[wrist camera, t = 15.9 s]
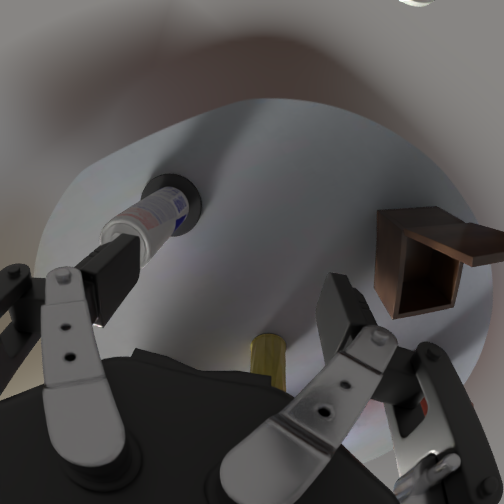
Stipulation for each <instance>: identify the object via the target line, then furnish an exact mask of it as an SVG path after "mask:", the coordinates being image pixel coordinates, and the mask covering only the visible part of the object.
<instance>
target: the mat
mask: <svg viewBox="0 0 504 504" xmlns="http://www.w3.org/2000/svg"><path fill="white" fill-rule="evenodd" d="M164 187H174V188H176V189H178V190H180V191H181V192H182V193H183V194H184V195H185V196H186V198H187V200H188V204H189V212H188V215H187V217H186V219H185V220H184V221H183V222H182V224H181V225H180V226H179V227H178V228H177V229H176V230H175V232H174V233H173V234H172V235H171V236H172V237H173V236H180V235H183V234H185V233H187V232H189V231H190V230H191V229H192V228H193V227H194V226H195V225H196V223H197V222H198V220H199V218H200V215H201V209H202V204H201V198H200V195H199V193H198V191H197V189H196V188H195V186H194V185H193V184H192V183H191V182H190V181H189V180H188V179H186V178H184V177H182V176H180V175H177V174H163V175H160V176H158V177H156V178H154V179H152V180H151V181H150V182H149V183H148V184H147V185H146V187H145V188H144V190H143V193H142V196H141V200H142V199H144V198H146V197H147V196H149V195H151V194H152V193H154V192H156V191H158V190H159V189H161V188H164Z"/></svg>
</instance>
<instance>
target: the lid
mask: <svg viewBox="0 0 504 504" xmlns="http://www.w3.org/2000/svg"><path fill="white" fill-rule="evenodd" d="M404 235H405V236H407V237H409V238H412V239H414V240H416V241H418V242H421V243H423V244H425V245H427V246H429V247H431V248H434V249H436V250H438V251H440V252H442V253H444V254H446V255H448V256H450V257H452V258H455V259H457V260H459V261H461V262H463V263H465V264H467V265H469V266H471V267H476V266H481V265H487V264H492V263H497V262H503V261H504V232H502V231H499V230H496V229H492V228H489V227H485V226H482V225H478V224H474V223H460V224H448V225H436V226H425V227H413V228H404Z"/></svg>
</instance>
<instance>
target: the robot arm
mask: <svg viewBox="0 0 504 504" xmlns="http://www.w3.org/2000/svg"><path fill="white" fill-rule="evenodd" d="M139 274H140V237H139V236H136V235H130V234H125V233H122V234H120V235H119V236H118V237H117V238H116V239H114V240H113V241H112V242H108V243H105V244H103V245H100V246H99V247H98V248H97V249H95V250H94V252H92V253H91V254H89V256H87V257H86V258H85V259H83V260H82V261H81V262H80V263H79V264H77V265H76V266H75V267H59V268H56V269H54V270H52V271H50V272H49V273H48V274H47V276H46V278H31V273H30V268H29V267H28V266H27V265H25V264H12V265H9V266H7V267H5V268H4V269H3V270H1V271H0V318H1V317H2V316H3V315H4V314H5V313H6V312H7V311H8V310H9V313H10V316H11V319H12V322H11V323H10V324H9V325H8V326H7V327H6V329H5V330H4V331H3V332H2V333H1V334H0V395H1V394H2V392H3V391H4V389H5V388H6V386H7V384H8V383H9V381H10V380H11V378H12V377H13V375H14V374H15V372H16V371H17V370H18V368H19V367H20V365H21V364H22V362H23V361H24V359H25V358H26V357H27V355H28V354H29V352H30V351H31V350H32V348H33V347H34V346H35V344H36V343H37V341H38V340H39V339H40V338H41V345H42V362H43V374H44V384H42V385H39V386H37V387H34V388H32V389H29V390H27V391H24V392H22V393H19V394H17V395H14V396H11V397H9V398H6V399H4V400H1V401H0V504H498V503H499V501H500V499H501V497H502V493H503V483H502V480H501V477H500V474H499V470H498V467H497V464H496V462H495V459H494V456H493V453H492V451H491V448H490V446H489V443H488V440H487V438H486V435H485V433H484V430H483V428H482V425H481V423H480V421H479V418H478V416H477V414H476V412H475V410H474V407H473V405H472V403H471V401H470V399H469V397H468V394H467V392H466V390H465V388H464V386H463V384H462V382H461V380H460V378H459V376H458V374H457V372H456V370H455V368H454V367H453V365H452V363H451V361H450V359H449V357H448V355H447V354H446V352H445V351H444V350H443V349H442V348H440V347H439V346H437V345H436V344H433V343H430V342H422V343H420V344H419V345H418V347H417V348H416V350H415V352H414V351H411V350H408V349H405V348H401V347H399V346H397V345H398V342H397V339H396V337H395V336H394V335H393V334H392V333H391V332H390V331H389V330H387V329H385V328H383V327H381V326H378V325H377V323H376V321H375V318H374V316H373V314H372V312H371V310H370V308H369V306H368V304H367V302H366V300H365V298H364V296H363V295H362V294H361V293H360V292H359V291H358V290H357V289H356V288H352V286H351V284H350V282H349V279H348V277H347V276H346V275H343V274H338V273H332V272H329V273H328V274H327V276H326V279H325V282H324V285H323V288H322V291H321V294H320V297H319V299H318V302H317V306H316V313H315V317H316V322H317V327H318V331H319V336H320V341H321V346H322V351H323V356H324V361H325V367H324V368H323V369H322V370H321V371H320V372H319V373H318V374H317V375H316V376H315V377H314V379H313V380H312V381H311V382H310V383H309V384H308V385H307V386H306V387H305V388H304V389H303V390H302V391H301V392H300V393H299V394H298V395H297V396H296V397H295V398H294V397H293V396H292V395H290V394H288V393H286V392H285V391H283V390H280V389H278V388H276V387H273V386H271V376H269V375H262V374H255V373H248V372H242V371H201V370H197V369H195V368H192V367H190V366H188V365H185V364H183V363H181V362H179V361H176V360H174V359H172V358H170V357H168V356H164V355H160V354H156V353H152V352H149V351H145V350H141V349H138V348H135V350H134V352H133V354H132V356H131V357H112V358H107V359H103V360H101V359H100V355H99V351H98V348H97V344H96V340H95V336H94V332H93V327H92V325H95V326H98V327H101V328H104V326H105V325H106V324H107V322H108V321H109V319H110V318H111V317H112V315H113V314H114V312H115V311H116V310H117V308H118V307H119V306H120V304H121V303H122V302H123V300H124V299H125V297H126V296H127V295H128V293H129V292H130V291H131V290H132V288H133V287H134V286H135V284H136V283H137V281H138V278H139ZM424 396H425V399H426V402H427V405H428V411H427V414H426V417H425V415H424V412H423V409H422V407H421V404H420V402H421V400H422V399H423V398H424ZM370 399H373V400H377V401H380V402H384V407H385V411H386V415H387V419H388V424H389V428H390V433H391V437H392V442H393V447H394V451H395V456H396V461H397V467H398V472H399V479H398V480H397V481H396V483H395V485H394V490H393V492H392V491H391V490H390V489H389V488H388V487H387V486H385V485H384V484H383V483H382V482H381V481H380V480H379V479H378V478H377V477H376V476H374V475H373V474H372V473H371V472H370V471H369V470H368V469H367V468H366V467H365V466H364V465H363V464H362V463H361V462H360V461H359V460H358V459H357V458H356V457H355V456H353V455H352V454H351V453H350V452H349V451H348V450H347V449H346V448H345V447H344V446H343V445H342V444H341V443H342V441H343V440H344V439H345V437H346V436H347V434H348V433H349V431H350V430H351V428H352V427H353V425H354V424H355V422H356V421H357V419H358V417H359V416H360V414H361V413H362V411H363V410H364V408H365V406H366V405H367V403H368V401H369V400H370Z"/></svg>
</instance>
